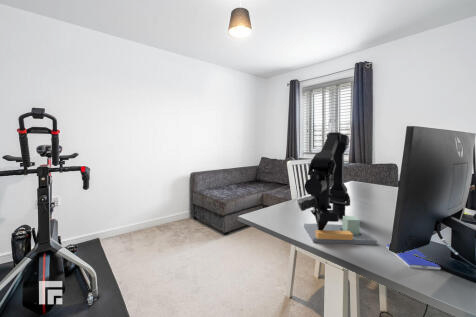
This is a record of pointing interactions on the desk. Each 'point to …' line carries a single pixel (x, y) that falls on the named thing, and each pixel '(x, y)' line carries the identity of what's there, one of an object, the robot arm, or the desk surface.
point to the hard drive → (415, 260)
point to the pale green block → (351, 224)
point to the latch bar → (334, 235)
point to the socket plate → (357, 239)
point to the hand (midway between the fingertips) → (320, 231)
